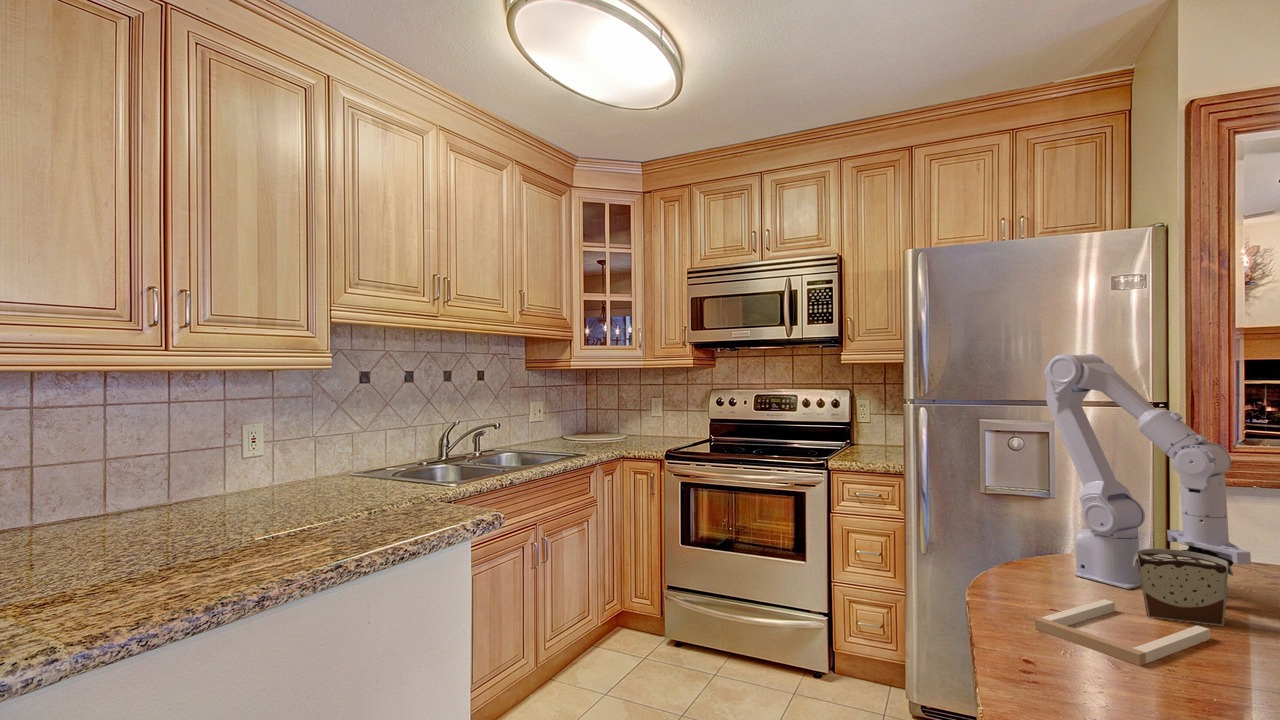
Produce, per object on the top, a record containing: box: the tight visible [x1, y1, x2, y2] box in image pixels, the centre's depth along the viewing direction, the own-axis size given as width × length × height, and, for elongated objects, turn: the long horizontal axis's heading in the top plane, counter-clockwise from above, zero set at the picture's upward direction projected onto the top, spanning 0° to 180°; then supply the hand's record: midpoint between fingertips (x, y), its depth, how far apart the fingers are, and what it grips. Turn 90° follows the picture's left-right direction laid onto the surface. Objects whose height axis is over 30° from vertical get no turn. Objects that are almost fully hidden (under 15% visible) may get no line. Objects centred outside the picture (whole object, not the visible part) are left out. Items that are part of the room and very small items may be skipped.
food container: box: [1133, 548, 1234, 627], centre depth 99 cm, size 12×6×10 cm, turn 65°
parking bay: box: [1034, 598, 1211, 667], centre depth 92 cm, size 14×18×2 cm
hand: (1208, 594), depth 103 cm, fingers closed
